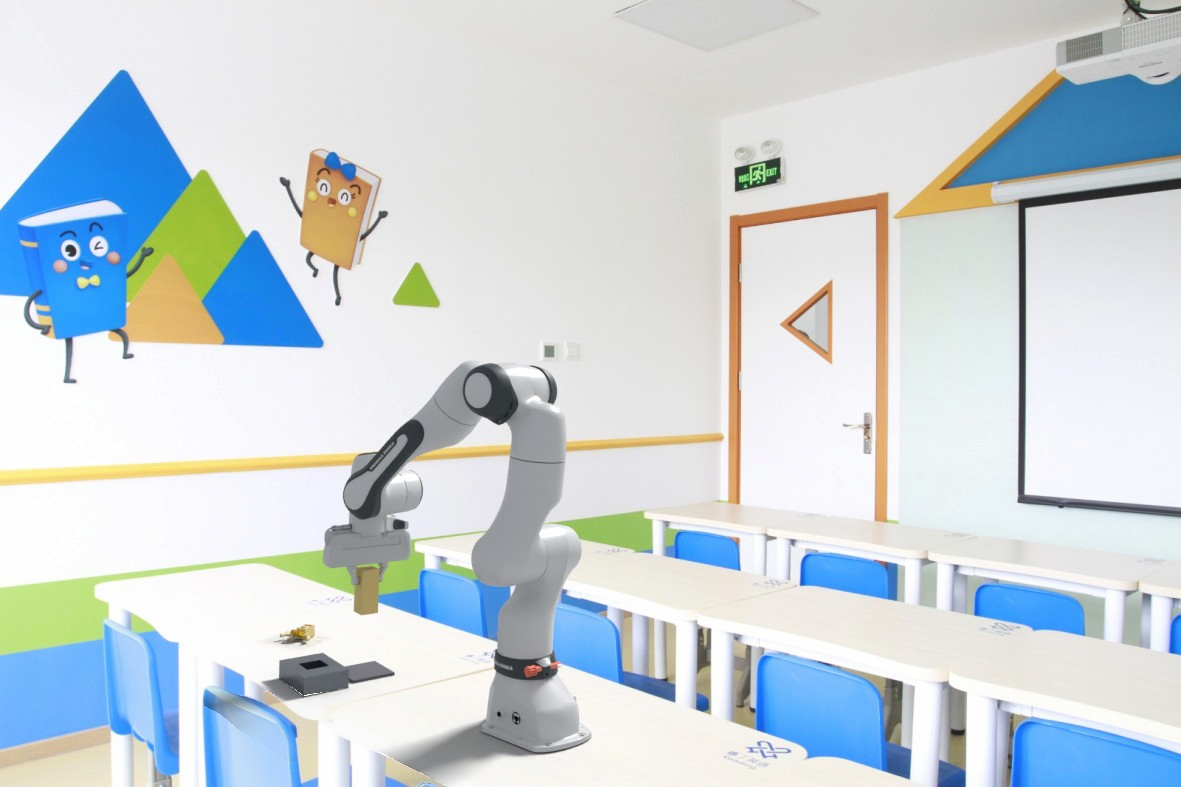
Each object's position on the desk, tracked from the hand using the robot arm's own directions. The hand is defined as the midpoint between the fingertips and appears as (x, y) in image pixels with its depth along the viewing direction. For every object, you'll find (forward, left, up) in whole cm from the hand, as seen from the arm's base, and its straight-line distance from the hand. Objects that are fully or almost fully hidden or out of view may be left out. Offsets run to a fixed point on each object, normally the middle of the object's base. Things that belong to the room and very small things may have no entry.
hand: (366, 583), depth 205 cm
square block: (0, 0, -7) cm, 7 cm away
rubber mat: (0, 0, -21) cm, 21 cm away
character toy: (+33, +3, -21) cm, 39 cm away
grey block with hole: (0, +12, -21) cm, 24 cm away
